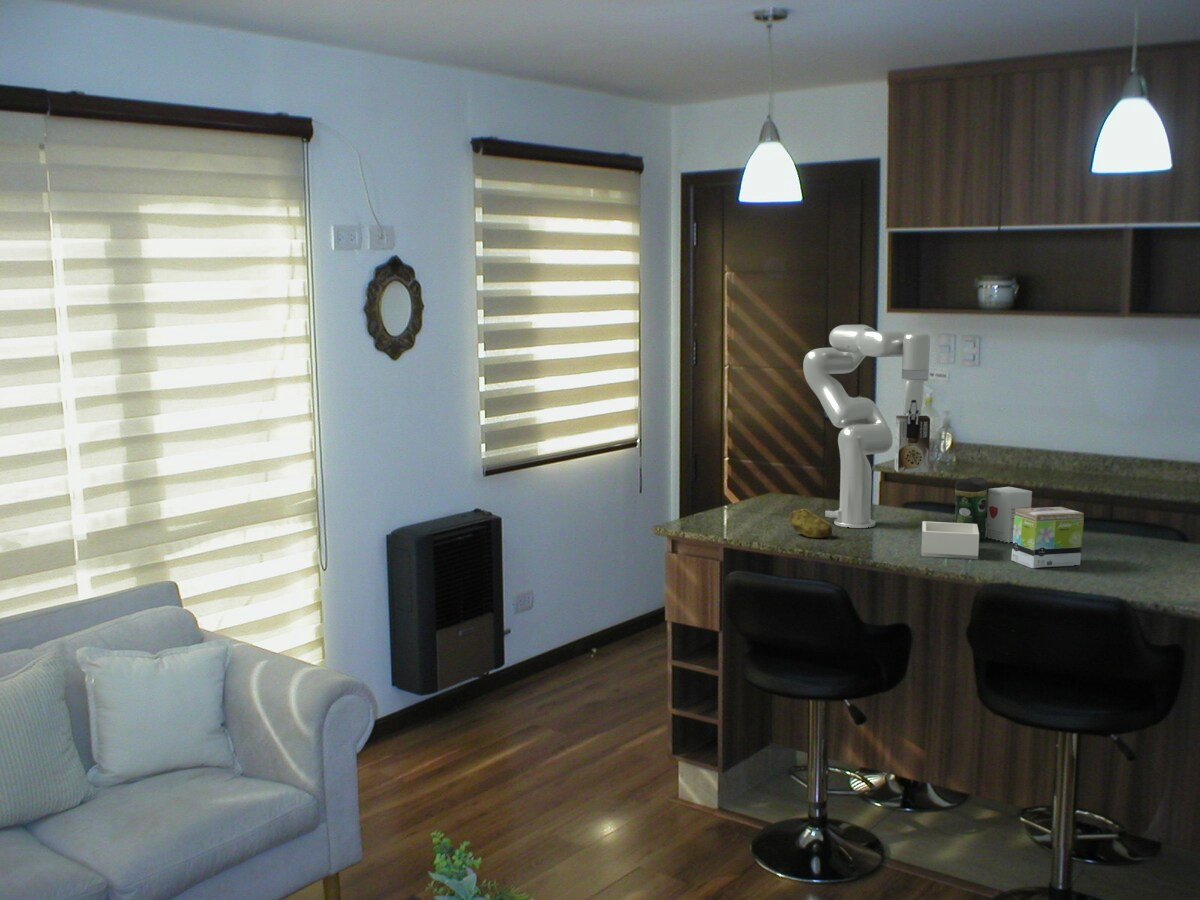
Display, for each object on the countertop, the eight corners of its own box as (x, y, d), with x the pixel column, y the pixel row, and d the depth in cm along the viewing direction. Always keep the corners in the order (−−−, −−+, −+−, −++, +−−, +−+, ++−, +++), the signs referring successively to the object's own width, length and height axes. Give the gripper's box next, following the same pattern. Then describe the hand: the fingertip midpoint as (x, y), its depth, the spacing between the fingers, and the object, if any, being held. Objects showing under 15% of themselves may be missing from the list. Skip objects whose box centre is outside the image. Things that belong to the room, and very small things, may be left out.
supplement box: (984, 537, 349) (987, 488, 347) (1006, 535, 353) (1009, 486, 351) (1008, 543, 341) (1010, 493, 339) (1030, 540, 345) (1032, 490, 343)
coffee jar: (964, 534, 353) (967, 474, 351) (989, 538, 348) (992, 477, 345) (948, 539, 346) (951, 477, 344) (973, 543, 341) (976, 480, 338)
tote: (921, 556, 325) (922, 531, 324) (921, 545, 339) (922, 521, 338) (978, 559, 321) (979, 534, 320) (975, 547, 335) (976, 523, 334)
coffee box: (925, 469, 346) (927, 415, 344) (929, 473, 340) (931, 417, 337) (893, 468, 347) (895, 414, 345) (896, 472, 341) (899, 417, 338)
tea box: (1033, 569, 309) (1036, 514, 307) (1010, 561, 319) (1013, 507, 317) (1082, 566, 314) (1085, 511, 312) (1057, 557, 323) (1060, 505, 321)
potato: (816, 541, 344) (817, 514, 343) (784, 534, 354) (784, 508, 353) (835, 537, 349) (836, 511, 348) (802, 531, 359) (803, 505, 358)
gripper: (902, 373, 349) (900, 432, 351) (901, 377, 332) (898, 439, 335) (928, 373, 347) (925, 433, 349) (928, 378, 330) (925, 440, 333)
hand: (912, 436), depth 342 cm, fingers closed on coffee box, 7 cm apart
